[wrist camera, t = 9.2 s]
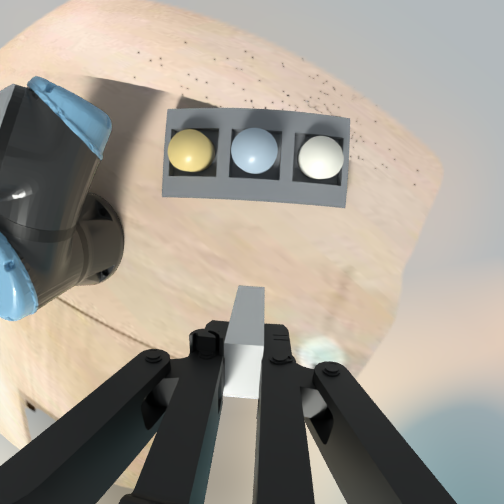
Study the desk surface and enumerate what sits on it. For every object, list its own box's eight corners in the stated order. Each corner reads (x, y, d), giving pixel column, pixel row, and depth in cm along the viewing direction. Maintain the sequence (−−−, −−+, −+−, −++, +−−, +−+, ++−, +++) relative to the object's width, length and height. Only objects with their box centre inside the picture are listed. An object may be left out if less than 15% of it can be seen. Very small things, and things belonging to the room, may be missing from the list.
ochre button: (176, 172, 38) (166, 170, 34) (179, 135, 37) (169, 129, 33) (214, 172, 38) (207, 171, 34) (216, 134, 37) (210, 128, 33)
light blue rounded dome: (233, 173, 36) (229, 171, 32) (236, 133, 35) (232, 126, 31) (274, 175, 36) (276, 174, 32) (277, 135, 35) (278, 129, 31)
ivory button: (295, 177, 38) (299, 176, 33) (297, 139, 37) (302, 133, 32) (333, 181, 38) (342, 180, 33) (336, 143, 36) (344, 138, 32)
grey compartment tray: (169, 196, 40) (162, 197, 37) (174, 114, 37) (167, 109, 35) (339, 206, 40) (345, 208, 37) (344, 122, 37) (350, 118, 34)
